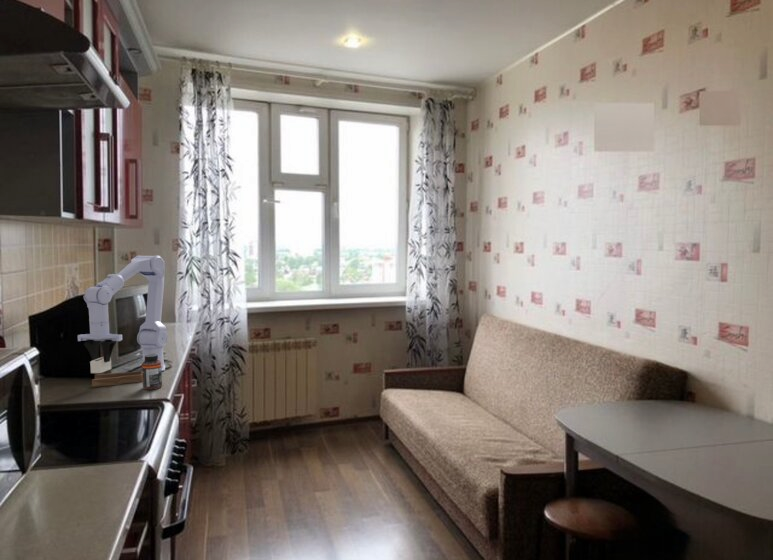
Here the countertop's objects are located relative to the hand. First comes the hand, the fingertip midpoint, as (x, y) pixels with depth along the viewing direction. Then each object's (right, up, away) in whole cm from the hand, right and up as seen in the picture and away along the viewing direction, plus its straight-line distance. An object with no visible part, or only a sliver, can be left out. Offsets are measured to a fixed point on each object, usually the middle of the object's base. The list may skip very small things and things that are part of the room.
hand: (101, 361), depth 173 cm
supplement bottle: (+18, -9, 0) cm, 20 cm away
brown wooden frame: (+2, -8, +7) cm, 11 cm away
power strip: (0, -3, 0) cm, 3 cm away
